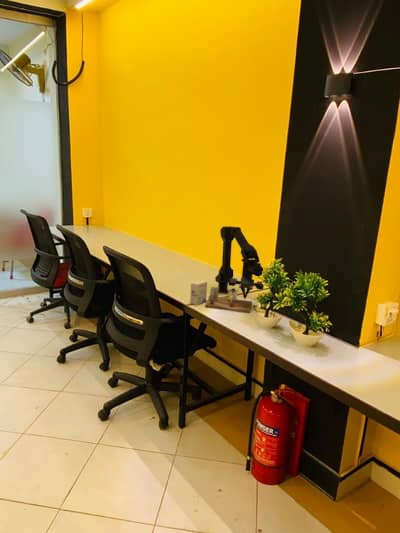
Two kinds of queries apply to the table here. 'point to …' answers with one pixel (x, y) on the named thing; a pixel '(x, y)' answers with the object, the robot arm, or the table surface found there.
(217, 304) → the hole board
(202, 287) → the ink box
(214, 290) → the gauge fixed leg
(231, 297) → the gauge slider
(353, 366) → the table surface
